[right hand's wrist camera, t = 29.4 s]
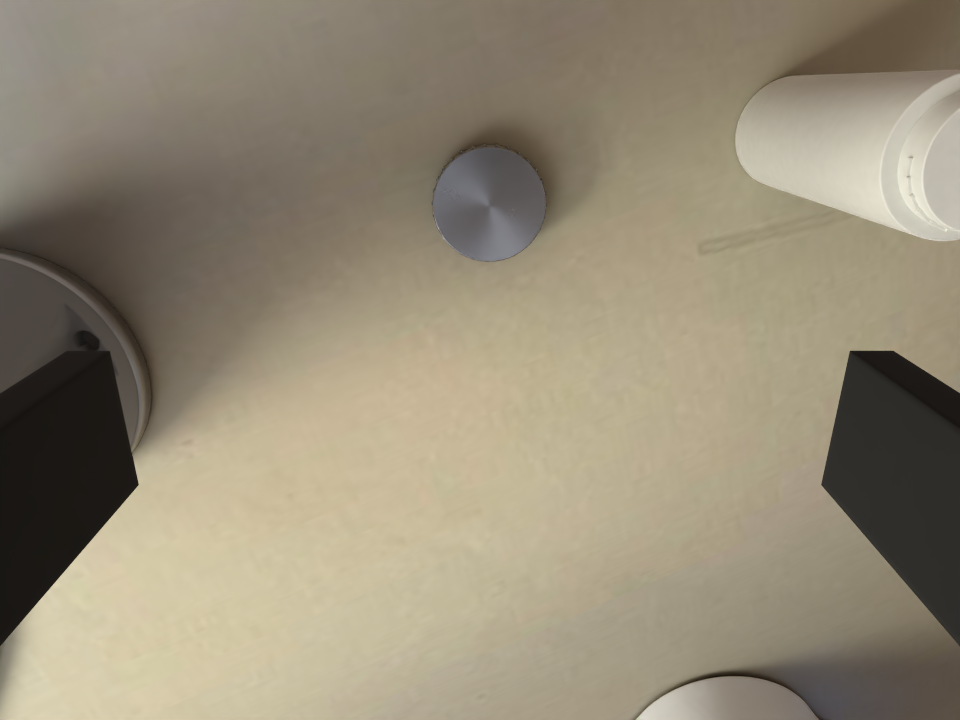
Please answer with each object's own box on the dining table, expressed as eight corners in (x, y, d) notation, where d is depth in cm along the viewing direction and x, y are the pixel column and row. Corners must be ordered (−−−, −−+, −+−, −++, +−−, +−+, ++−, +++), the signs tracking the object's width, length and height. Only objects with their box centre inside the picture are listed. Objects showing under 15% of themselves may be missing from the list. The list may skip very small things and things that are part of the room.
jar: (747, 201, 37) (916, 273, 22) (724, 99, 35) (892, 107, 21) (850, 164, 36) (1091, 215, 22) (832, 58, 34) (1084, 37, 20)
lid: (541, 138, 36) (544, 140, 34) (547, 251, 38) (550, 258, 36) (427, 148, 36) (425, 150, 34) (439, 260, 38) (438, 267, 36)
